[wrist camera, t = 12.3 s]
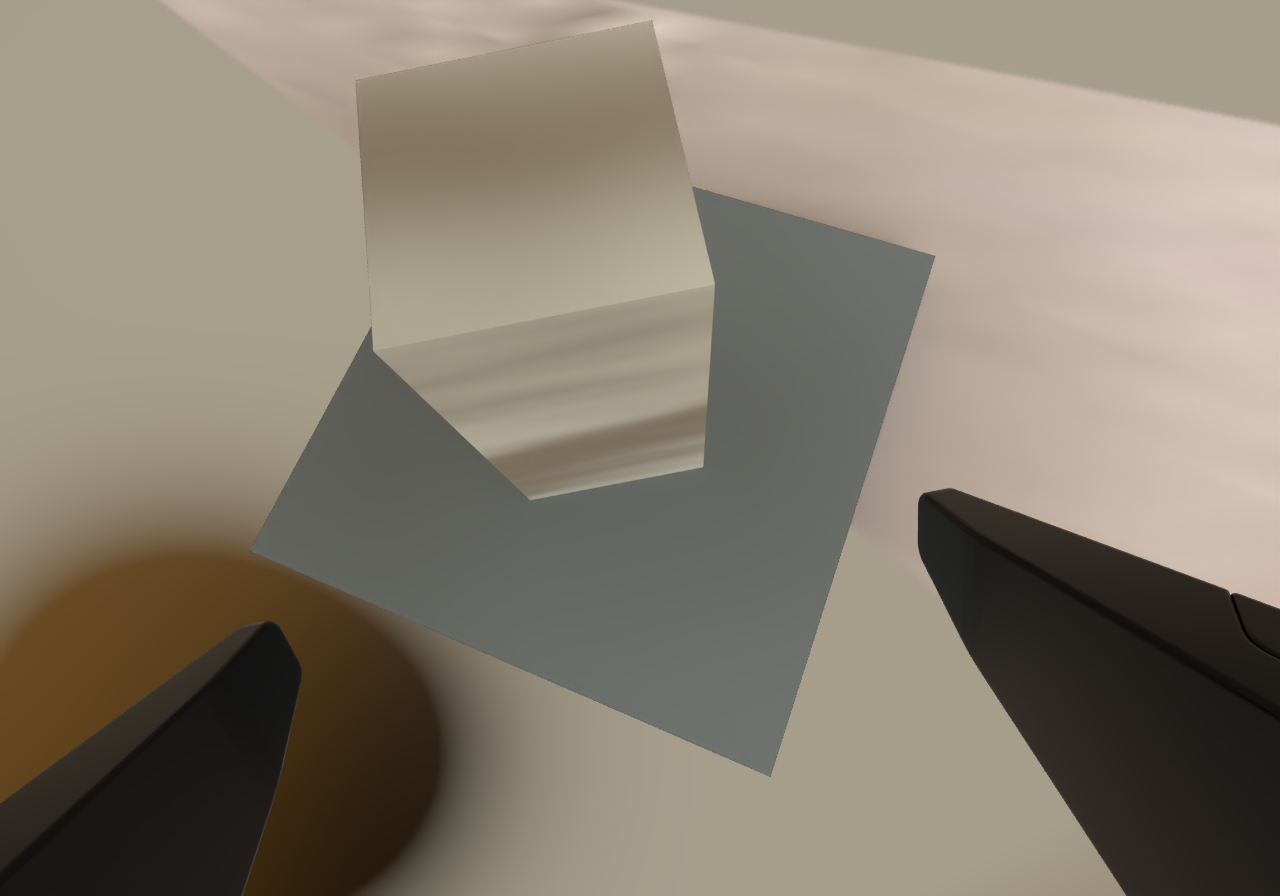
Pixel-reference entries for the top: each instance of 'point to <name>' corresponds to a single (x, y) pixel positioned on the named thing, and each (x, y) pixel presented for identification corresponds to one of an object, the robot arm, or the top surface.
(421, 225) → the cream rectangular block
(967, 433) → the top surface
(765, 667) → the rubber mat
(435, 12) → the top surface
